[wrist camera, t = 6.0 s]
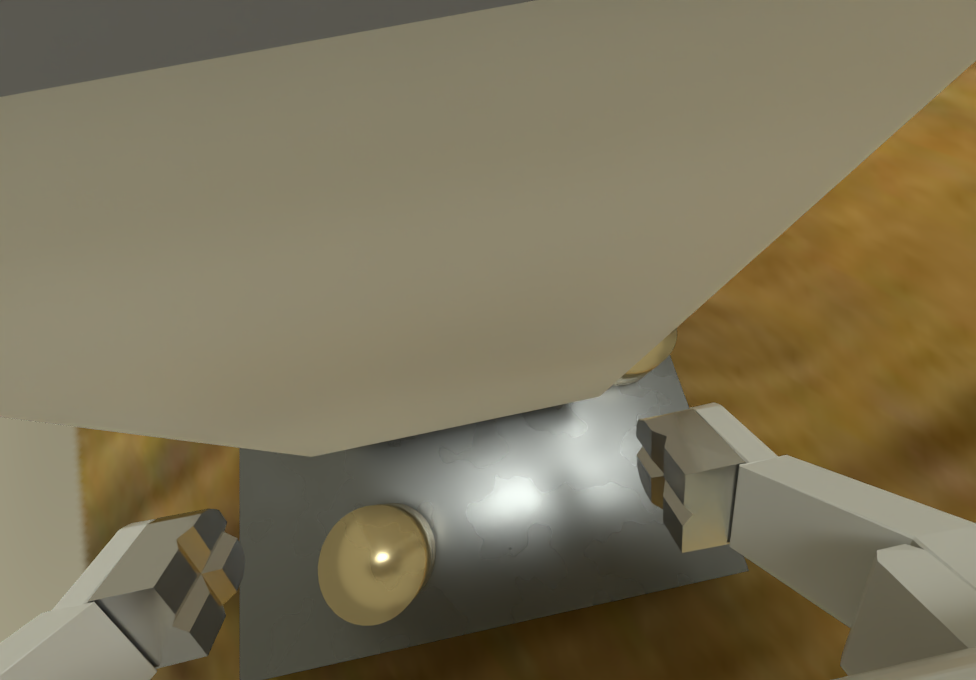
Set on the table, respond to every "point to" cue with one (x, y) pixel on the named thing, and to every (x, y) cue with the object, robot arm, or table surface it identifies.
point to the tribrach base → (458, 530)
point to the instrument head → (408, 196)
